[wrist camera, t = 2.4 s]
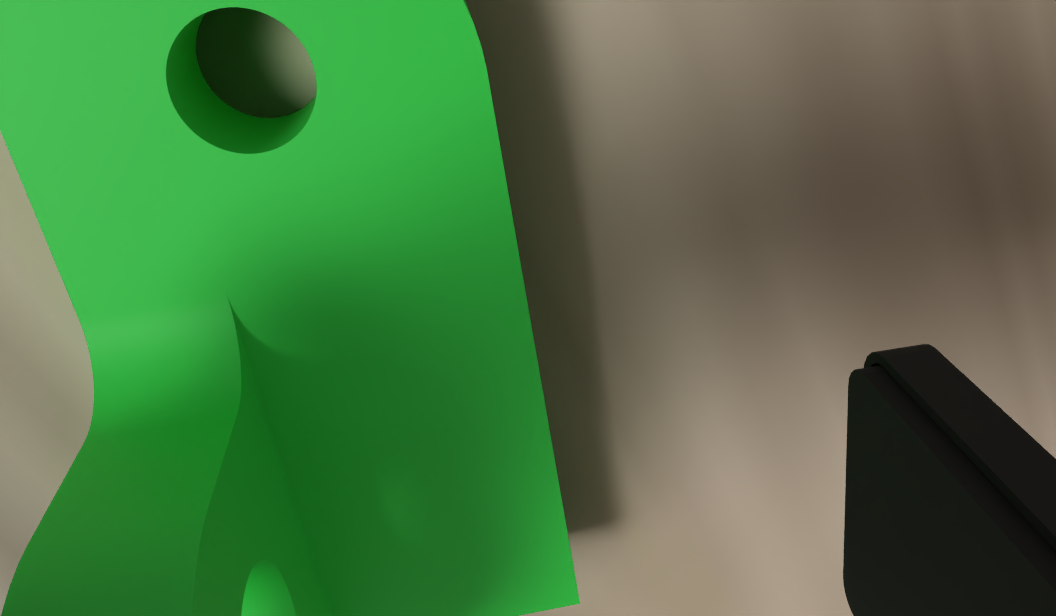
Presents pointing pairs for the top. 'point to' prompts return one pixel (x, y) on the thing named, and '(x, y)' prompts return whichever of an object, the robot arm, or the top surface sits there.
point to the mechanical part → (284, 322)
